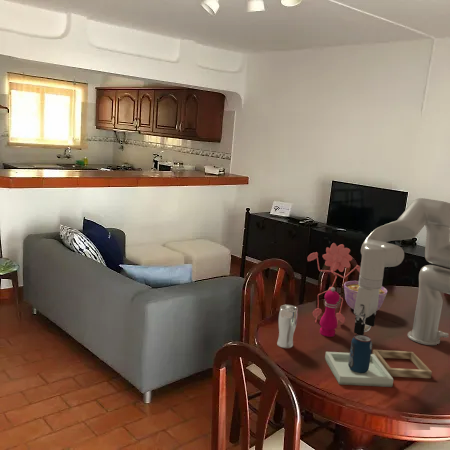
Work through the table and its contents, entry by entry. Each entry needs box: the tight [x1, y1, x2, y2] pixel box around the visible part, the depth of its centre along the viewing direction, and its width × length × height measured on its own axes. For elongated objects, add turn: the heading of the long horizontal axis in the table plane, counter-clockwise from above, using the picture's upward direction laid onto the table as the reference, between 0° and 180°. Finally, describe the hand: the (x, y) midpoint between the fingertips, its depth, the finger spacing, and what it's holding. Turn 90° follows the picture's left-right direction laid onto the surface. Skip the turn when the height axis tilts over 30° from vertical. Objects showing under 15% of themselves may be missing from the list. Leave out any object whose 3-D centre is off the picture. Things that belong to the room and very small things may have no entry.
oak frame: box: [371, 349, 433, 379], centre depth 174 cm, size 15×15×2 cm
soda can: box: [348, 333, 373, 374], centre depth 166 cm, size 7×7×12 cm
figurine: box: [306, 242, 361, 326], centre depth 211 cm, size 15×26×35 cm, turn 65°
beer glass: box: [276, 304, 299, 349], centre depth 183 cm, size 7×7×15 cm
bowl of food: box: [343, 280, 388, 312], centre depth 229 cm, size 20×20×12 cm
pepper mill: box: [319, 286, 341, 338], centre depth 197 cm, size 7×7×20 cm
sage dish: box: [324, 351, 394, 388], centre depth 167 cm, size 18×18×3 cm
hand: (364, 329), depth 165 cm, fingers open, 9 cm apart
